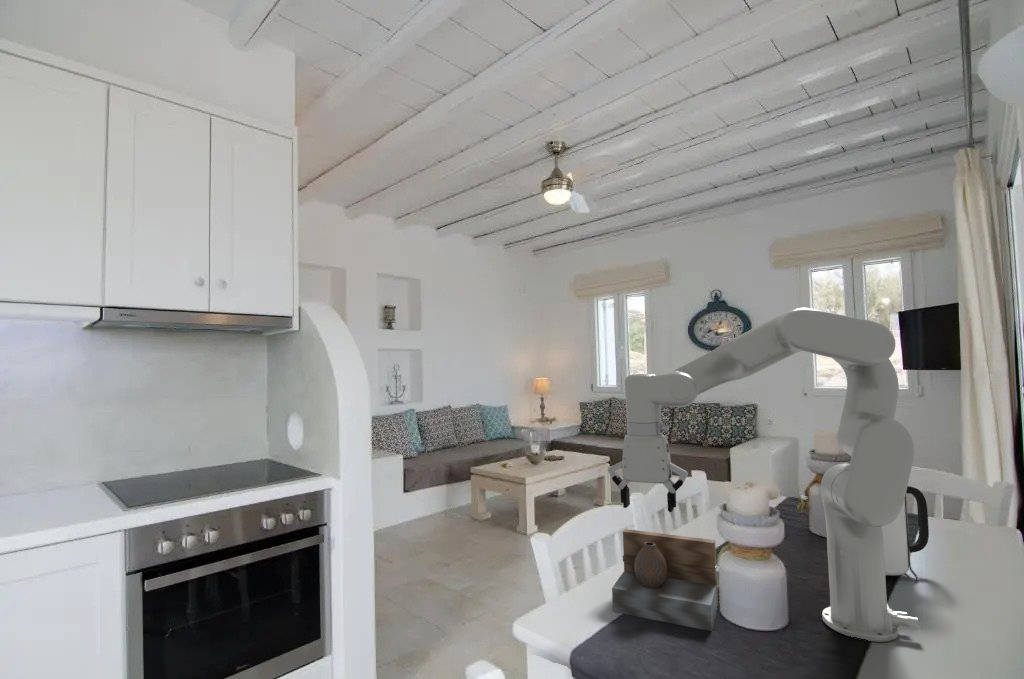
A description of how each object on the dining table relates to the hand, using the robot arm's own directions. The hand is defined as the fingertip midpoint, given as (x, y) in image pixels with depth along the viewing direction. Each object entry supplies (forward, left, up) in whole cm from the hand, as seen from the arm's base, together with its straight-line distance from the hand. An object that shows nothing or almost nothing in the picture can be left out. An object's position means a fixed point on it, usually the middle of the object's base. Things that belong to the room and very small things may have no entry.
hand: (648, 508), depth 113 cm
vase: (0, 0, -17) cm, 17 cm away
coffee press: (-48, -42, -22) cm, 67 cm away
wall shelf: (-3, -1, -21) cm, 22 cm away
